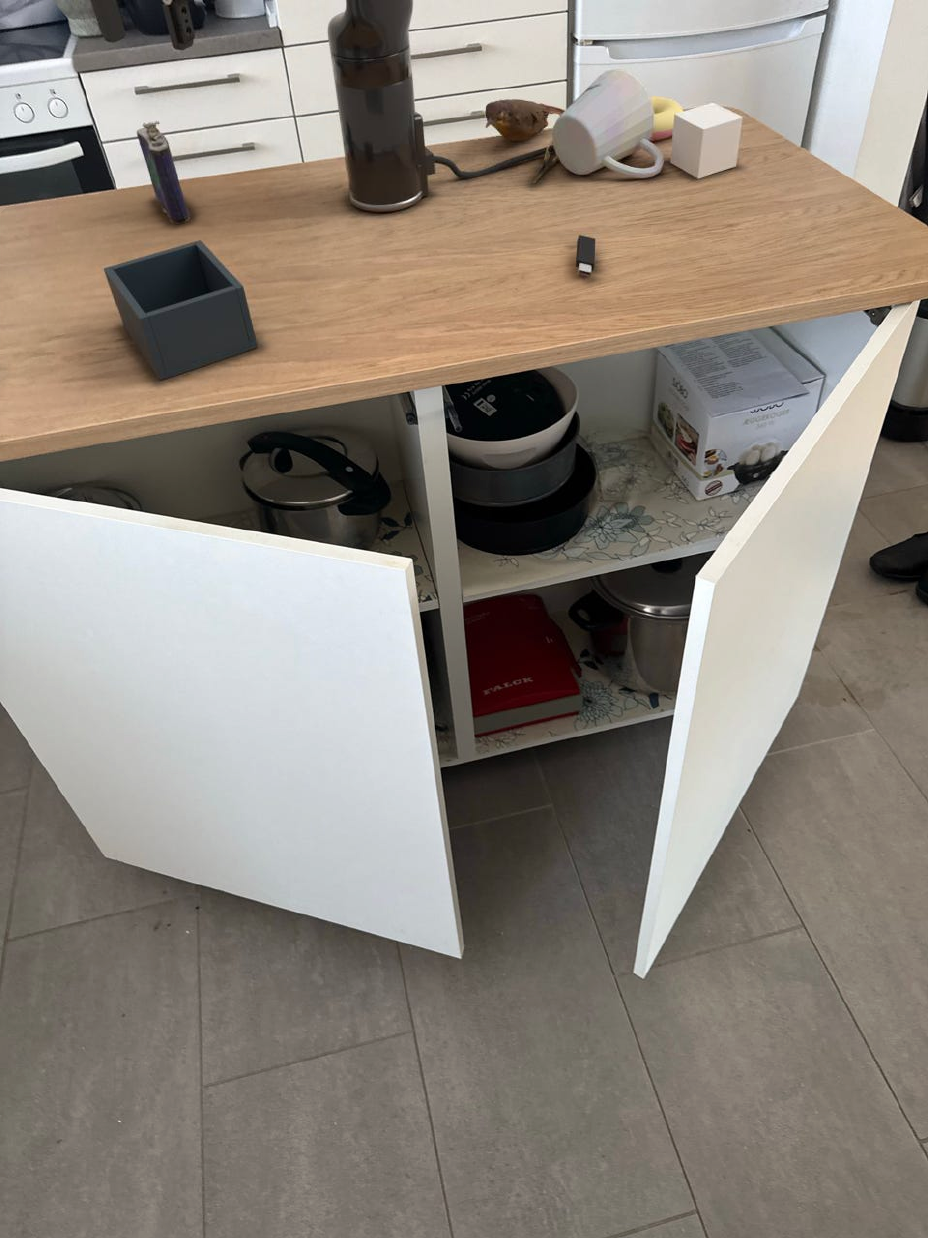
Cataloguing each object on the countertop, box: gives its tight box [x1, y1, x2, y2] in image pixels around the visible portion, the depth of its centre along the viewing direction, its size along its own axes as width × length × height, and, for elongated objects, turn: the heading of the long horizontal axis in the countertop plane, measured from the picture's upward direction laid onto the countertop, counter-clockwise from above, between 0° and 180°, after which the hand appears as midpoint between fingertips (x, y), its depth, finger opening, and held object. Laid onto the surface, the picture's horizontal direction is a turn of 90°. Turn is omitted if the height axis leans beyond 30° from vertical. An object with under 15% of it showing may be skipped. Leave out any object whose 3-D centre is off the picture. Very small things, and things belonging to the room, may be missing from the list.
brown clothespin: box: [533, 140, 559, 184], centre depth 124 cm, size 12×3×1 cm, turn 157°
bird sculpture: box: [484, 98, 566, 142], centre depth 131 cm, size 7×25×5 cm, turn 150°
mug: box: [551, 68, 665, 179], centre depth 121 cm, size 10×15×10 cm
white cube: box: [669, 102, 744, 179], centre depth 120 cm, size 6×6×6 cm
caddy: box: [103, 239, 259, 381], centre depth 97 cm, size 11×13×7 cm
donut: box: [649, 96, 685, 142], centre depth 130 cm, size 10×5×9 cm
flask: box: [136, 120, 191, 225], centre depth 118 cm, size 9×3×11 cm, turn 27°
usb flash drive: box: [575, 234, 596, 277], centre depth 106 cm, size 8×2×1 cm, turn 174°
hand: (149, 43), depth 89 cm, fingers open, 8 cm apart
